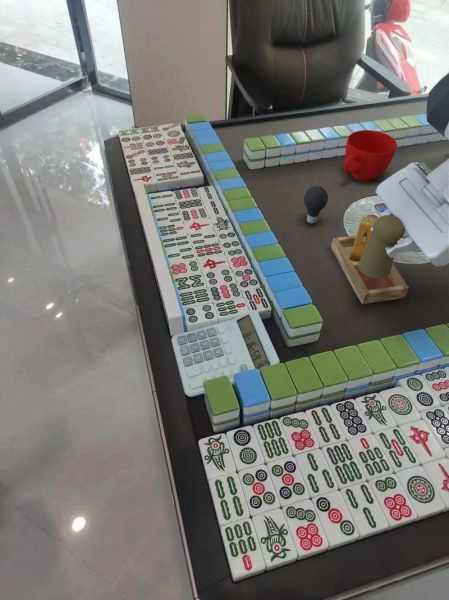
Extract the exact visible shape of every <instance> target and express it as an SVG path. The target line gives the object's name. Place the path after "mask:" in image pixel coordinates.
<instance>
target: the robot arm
mask: <svg viewBox="0 0 449 600" xmlns="http://www.w3.org/2000/svg"><path fill="white" fill-rule="evenodd" d="M425 112H426V122H427V123H428V124H429V125H430V126H431V127H432V128H433V129H434V130H436V131H437V132H438V133H439V134H440V135H441V136H442V137H445V138H446V139H447V140H448V141H449V71H448V72H447V73H445V74H444V75H443V76H442V77H441V78H440V79H439V80H438V81H437V82H436V83H435V84H434V86H433V87H432V88H431V90H429V92H428V95H427V101H426V111H425ZM375 195H377V196H378V198H379V199H380V201H382V203H383V204H384V205H385V206H386V208H387V209H385V210H384V211H383V212H381V215H380V217H381V216H383V215H392V216H396V217H398V218H399V219H400V220H401V221H402V223H403V226H404V229H405V232H406V233H407V235H408V236H407V237H405V238H404V239H403V241H404V242H401V243H397V245H394V244H393V243H391V244H390V245H388V246H387V247H385V248H384V250H385V252H386V253H387V255H388V256H389V257H390V258H393V257H394V258H395V257H396V256H397V255H399V254H400V253H407V252H413V251H414V250H416V249H417V248H419V250H420V252H422V253H423V255H424V256H425V257H426V259H427V260H428V261H429V262H430V263H431V264H432V265H433V266H434V267H444V266H446V265H448V264H449V158H447V159H445V160H444V161H443V162H442V163H441V164H439V165H438V166H437V167H436V168H435V169H433V170H432V169H431V168H429V167H428V165H427V164H426V163H425V162H423V161H420V162H419V161H416V162H415V161H414V162H410V163H409V164H407V165H406V166H405V167H404V168H401V169H399V170H398V171H396V172H395V173H393V174H391V175H390V176H389V177H387V178H386V179H385V180H383V181H381V182H380V183H379V184H378V185H377V187H376V189H375ZM371 232H372V233H373V227H372V228H371ZM373 235H374V234H373Z"/></svg>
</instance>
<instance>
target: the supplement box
mask: <svg viewBox="0 0 449 600" xmlns="http://www.w3.org/2000/svg"><path fill="white" fill-rule="evenodd" d="M377 219H378V218H373V217H369V216H364V215H363V216H362V218H361V219H360V222H359V224H358V228H357V232H356V234H355V235H356V239H355V242H354V246H353V249H352V253H351V256H350V259H351V260H356V261H360V259H361V257H362V255H363V253H364V251H365V249H366V248H367V246H368V244H369V242H370V240H371V238H372V236H373V233H372V232H371V228H372V227H373V226H374V223H375V221H376V220H377Z"/></svg>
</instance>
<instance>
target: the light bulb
mask: <svg viewBox="0 0 449 600" xmlns="http://www.w3.org/2000/svg"><path fill="white" fill-rule="evenodd" d="M328 201H329V195H328V191H327V190H326V189H325V188H324V187H322V186H320V185H313V186H311V187H309V188H308V189H307V190H306V191H305V193H304V195H303V202H304V203H303V204H304V205H305V208H306V213H307V215H306V216H307V217H306V221H307V222H308V223H309V224H311V225H313V224H314V223H317V221H318V217H319V215H320V213H321V211H322V210H323V209H324V208H325V207H326V206H327V204H328Z"/></svg>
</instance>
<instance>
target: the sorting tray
mask: <svg viewBox="0 0 449 600" xmlns="http://www.w3.org/2000/svg"><path fill="white" fill-rule="evenodd" d="M356 235H357V234H354V235H347V236H338V237H333V238H332V240H331V245H330V250H331V251H332V254H333V255H334V257H335V259H336V260H337V262H338V264H339V266H340V267H341V269H342V271H343V273H344V274H345V277H346V278H347V280H348V282H349V284H350V285H351V287H352V289H353V291H354V292H355V294H356V296H357V298H358V299H359V301H360V303H361V305H367V304H373V303H379V302H386V301H391V300H399V299H404V298H406V296H407V293H408V291H409V285H408V284H407V282H406V281H405V279H404V278H403V277H402V275H401V274H400V272H399V270H398V269H397V268H396V267H395V265H394V263H392V268H391V272H390V274H389V275H388V276H387V277H385V278H381V279H375V278H371V277H368V276H366V275H364V274H363V273H362V272H361V271H360V269H359V267H358V263H359V261H356V260H351V259H350V256H351V253H352V249H353V246H354V242H355V239H356Z"/></svg>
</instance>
